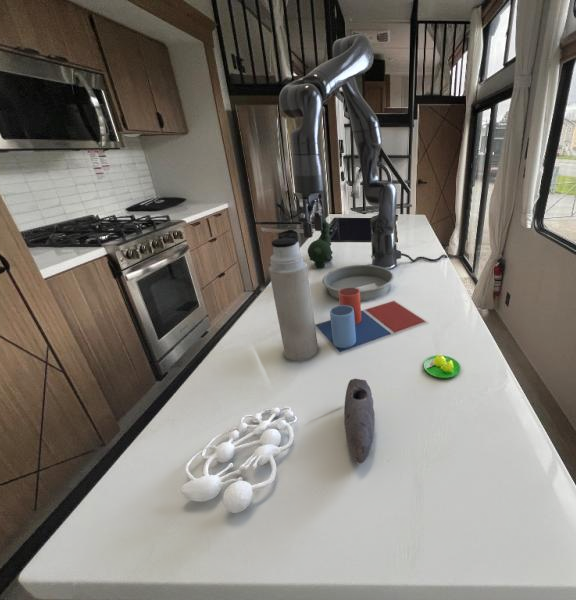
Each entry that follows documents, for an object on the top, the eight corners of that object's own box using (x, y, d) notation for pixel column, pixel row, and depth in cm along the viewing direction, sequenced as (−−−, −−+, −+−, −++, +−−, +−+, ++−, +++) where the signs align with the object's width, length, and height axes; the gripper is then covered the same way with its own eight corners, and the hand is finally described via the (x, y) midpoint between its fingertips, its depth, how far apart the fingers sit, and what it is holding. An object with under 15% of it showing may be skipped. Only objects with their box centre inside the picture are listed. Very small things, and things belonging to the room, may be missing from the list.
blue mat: (362, 311, 98) (362, 310, 98) (391, 334, 85) (391, 333, 85) (315, 326, 91) (315, 324, 90) (340, 353, 78) (339, 352, 78)
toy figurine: (317, 257, 151) (305, 272, 127) (313, 216, 144) (300, 223, 121) (338, 257, 151) (329, 272, 127) (335, 215, 144) (325, 222, 121)
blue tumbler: (349, 333, 86) (347, 302, 82) (360, 343, 81) (358, 311, 77) (329, 340, 83) (326, 308, 79) (339, 350, 79) (336, 318, 75)
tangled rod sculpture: (251, 409, 64) (246, 392, 62) (317, 418, 60) (313, 400, 58) (167, 502, 47) (157, 482, 45) (251, 524, 43) (242, 503, 41)
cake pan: (337, 274, 127) (336, 263, 125) (399, 277, 122) (399, 266, 120) (312, 301, 105) (310, 288, 103) (386, 306, 100) (386, 293, 98)
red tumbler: (355, 313, 96) (353, 285, 92) (365, 321, 91) (363, 292, 87) (337, 319, 93) (334, 290, 89) (346, 327, 89) (344, 297, 85)
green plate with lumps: (466, 367, 72) (468, 357, 71) (446, 385, 67) (447, 374, 66) (437, 353, 77) (438, 343, 76) (416, 368, 72) (416, 358, 71)
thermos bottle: (296, 340, 84) (279, 234, 72) (324, 345, 82) (310, 236, 69) (278, 358, 77) (255, 243, 65) (307, 364, 75) (289, 246, 63)
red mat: (393, 302, 103) (393, 300, 103) (425, 322, 91) (425, 321, 91) (365, 310, 98) (365, 309, 98) (394, 333, 86) (394, 332, 86)
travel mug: (307, 283, 118) (300, 229, 110) (301, 291, 112) (293, 234, 104) (291, 283, 119) (282, 229, 110) (284, 290, 113) (274, 234, 104)
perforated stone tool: (376, 472, 50) (374, 440, 47) (342, 474, 50) (338, 442, 47) (374, 402, 63) (373, 374, 60) (347, 403, 63) (344, 375, 60)
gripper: (312, 175, 79) (318, 240, 86) (329, 172, 92) (333, 228, 99) (283, 175, 80) (291, 239, 87) (304, 171, 93) (310, 228, 100)
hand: (313, 233), depth 93 cm, fingers open, 8 cm apart
